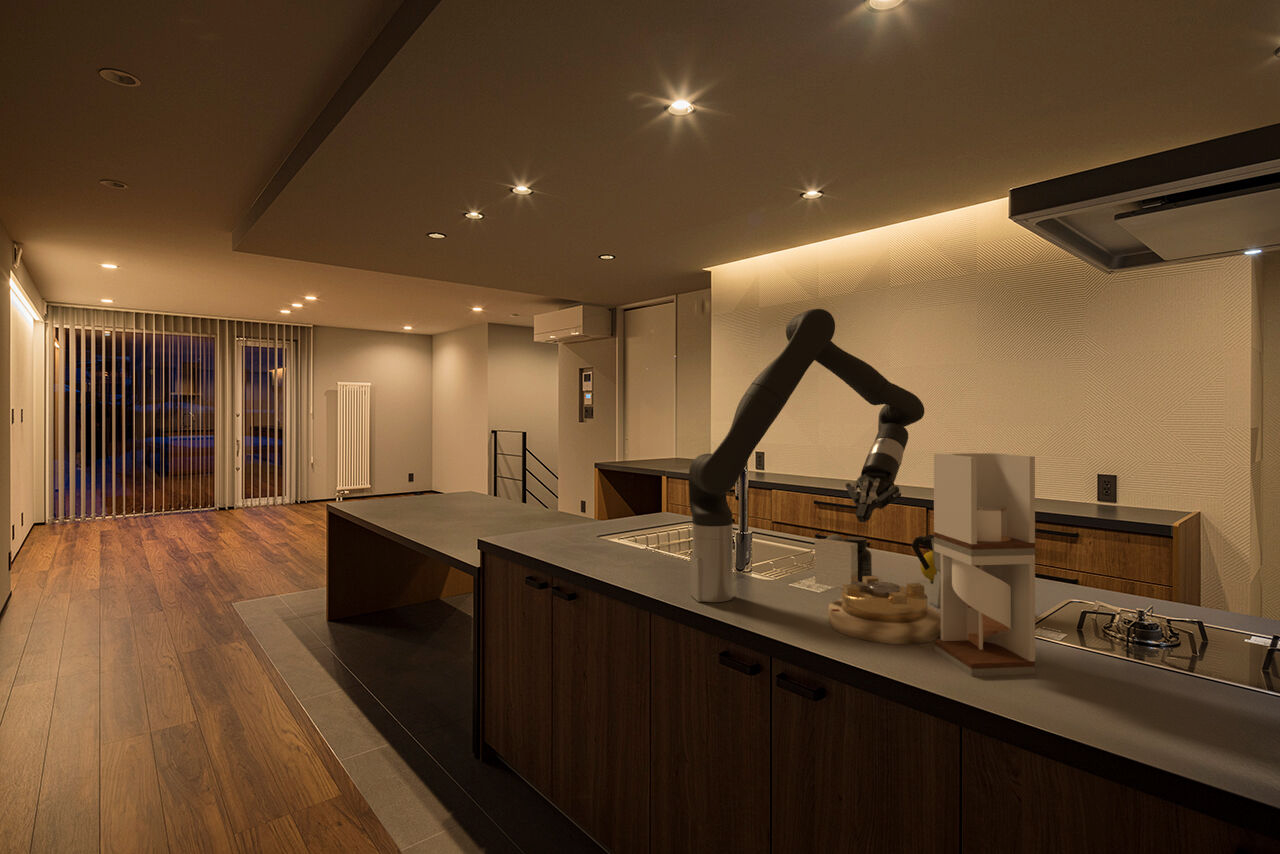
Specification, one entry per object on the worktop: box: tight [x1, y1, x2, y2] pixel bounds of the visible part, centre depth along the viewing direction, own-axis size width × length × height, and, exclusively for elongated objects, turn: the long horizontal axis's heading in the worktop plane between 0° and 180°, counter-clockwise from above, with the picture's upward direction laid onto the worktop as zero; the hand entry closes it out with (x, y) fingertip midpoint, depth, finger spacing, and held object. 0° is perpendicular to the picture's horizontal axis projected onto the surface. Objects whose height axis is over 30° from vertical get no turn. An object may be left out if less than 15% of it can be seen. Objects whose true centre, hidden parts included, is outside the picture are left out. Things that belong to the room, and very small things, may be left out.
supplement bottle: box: [845, 536, 873, 582], centre depth 160 cm, size 7×7×12 cm
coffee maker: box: [911, 534, 941, 609], centre depth 144 cm, size 15×9×18 cm, turn 47°
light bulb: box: [825, 534, 846, 542], centre depth 176 cm, size 6×6×10 cm
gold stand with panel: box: [814, 538, 928, 622], centre depth 132 cm, size 22×16×12 cm
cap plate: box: [828, 598, 941, 645], centre depth 130 cm, size 21×21×3 cm
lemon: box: [920, 550, 937, 583], centre depth 164 cm, size 6×6×8 cm
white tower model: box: [933, 452, 1036, 677], centre depth 110 cm, size 11×11×35 cm
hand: (861, 520), depth 145 cm, fingers closed
